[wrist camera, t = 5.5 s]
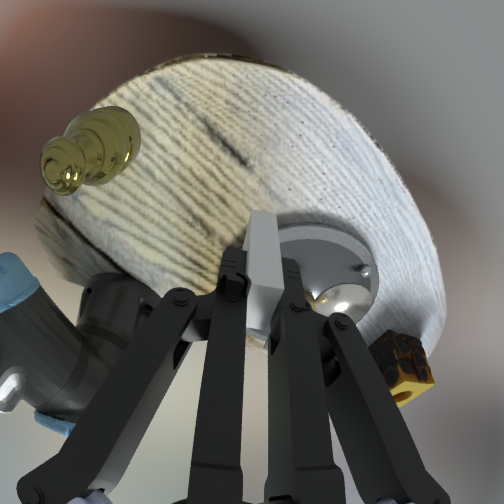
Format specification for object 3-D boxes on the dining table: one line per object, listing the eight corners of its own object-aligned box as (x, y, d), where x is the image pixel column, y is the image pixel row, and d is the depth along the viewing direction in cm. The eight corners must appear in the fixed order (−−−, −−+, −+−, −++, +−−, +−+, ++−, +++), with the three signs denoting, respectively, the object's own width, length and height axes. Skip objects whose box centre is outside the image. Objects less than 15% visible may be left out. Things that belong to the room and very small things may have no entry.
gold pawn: (74, 136, 23) (13, 168, 15) (116, 90, 20) (51, 105, 12) (110, 183, 26) (58, 230, 18) (156, 143, 24) (105, 180, 16)
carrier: (214, 326, 39) (210, 348, 36) (238, 204, 27) (234, 223, 24) (338, 344, 41) (341, 364, 37) (402, 244, 29) (415, 264, 26)
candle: (388, 328, 38) (404, 380, 30) (421, 338, 40) (438, 383, 32) (350, 360, 44) (358, 409, 36) (385, 367, 46) (396, 410, 38)
